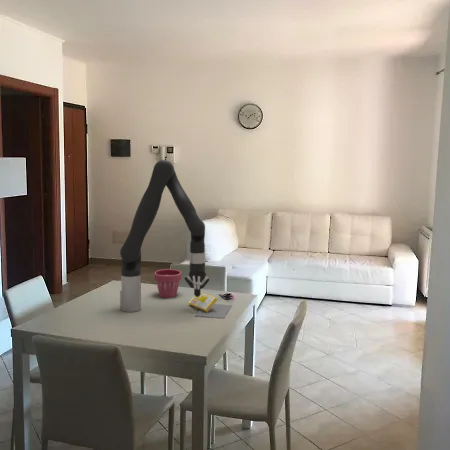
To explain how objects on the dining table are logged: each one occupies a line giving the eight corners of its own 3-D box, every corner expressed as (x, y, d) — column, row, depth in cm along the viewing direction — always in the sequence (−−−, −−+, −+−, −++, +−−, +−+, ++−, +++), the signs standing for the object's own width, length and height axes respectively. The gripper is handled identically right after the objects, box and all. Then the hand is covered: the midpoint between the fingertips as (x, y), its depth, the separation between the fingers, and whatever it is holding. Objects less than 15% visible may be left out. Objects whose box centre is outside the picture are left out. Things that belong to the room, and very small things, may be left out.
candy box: (207, 313, 240) (218, 299, 243) (204, 310, 239) (215, 296, 242) (190, 305, 253) (200, 292, 256) (187, 302, 252) (198, 290, 255)
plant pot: (175, 300, 261) (175, 276, 259) (150, 297, 265) (150, 274, 263) (185, 293, 274) (185, 270, 273) (161, 290, 278) (161, 268, 276)
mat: (194, 316, 236) (194, 315, 236) (204, 303, 256) (204, 303, 256) (224, 318, 234) (224, 317, 233) (231, 305, 253) (231, 305, 253)
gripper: (182, 262, 240) (182, 297, 243) (209, 263, 238) (209, 299, 240) (186, 259, 248) (186, 293, 250) (212, 260, 245) (212, 295, 248)
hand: (197, 296), depth 245 cm, fingers closed
